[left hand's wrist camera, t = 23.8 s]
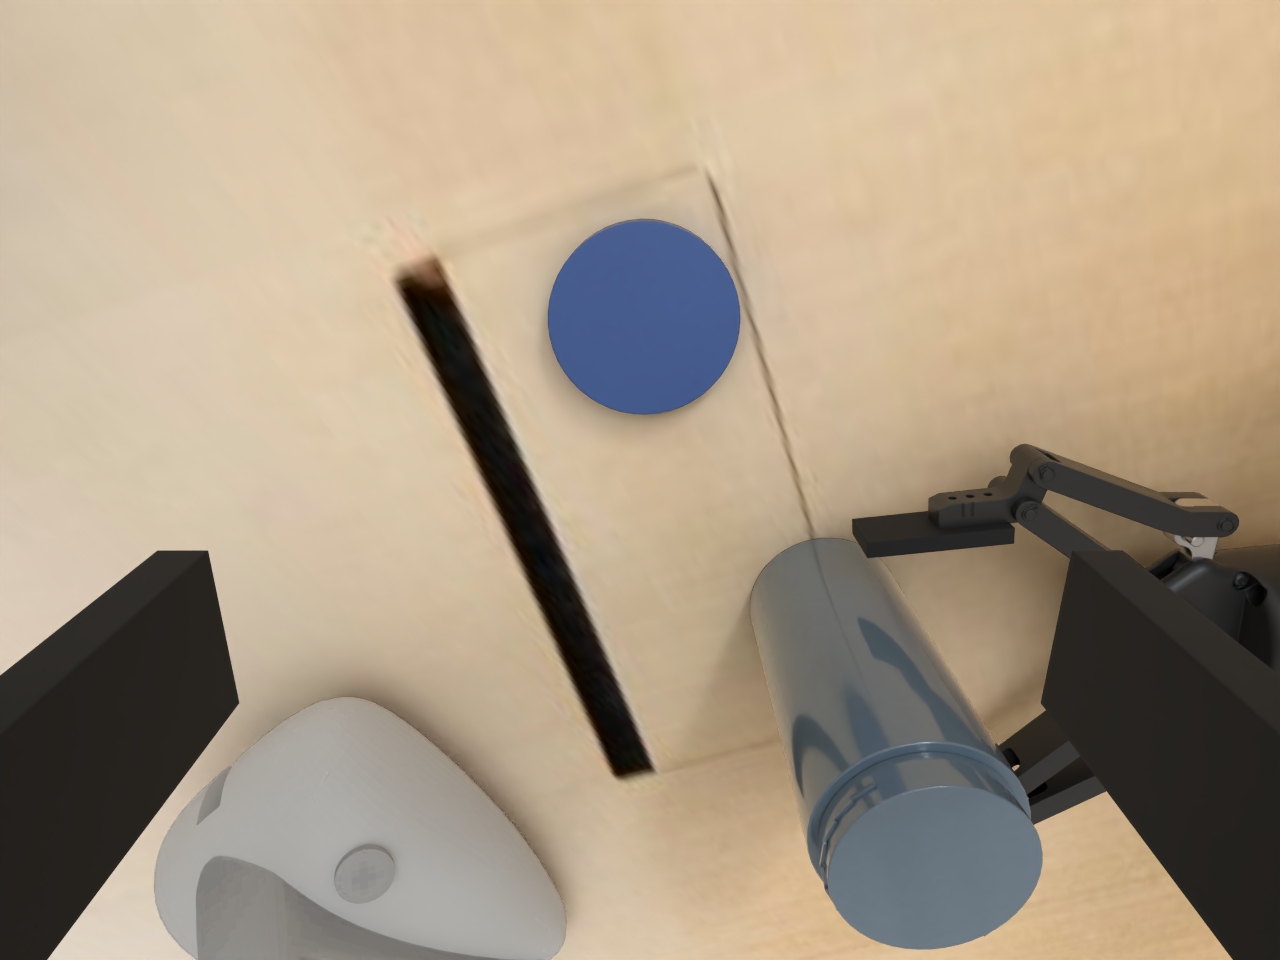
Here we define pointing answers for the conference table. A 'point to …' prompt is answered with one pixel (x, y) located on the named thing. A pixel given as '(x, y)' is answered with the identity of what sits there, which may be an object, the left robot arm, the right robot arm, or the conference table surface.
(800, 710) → the jar
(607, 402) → the lid
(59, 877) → the left robot arm
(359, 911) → the projector
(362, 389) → the conference table surface
